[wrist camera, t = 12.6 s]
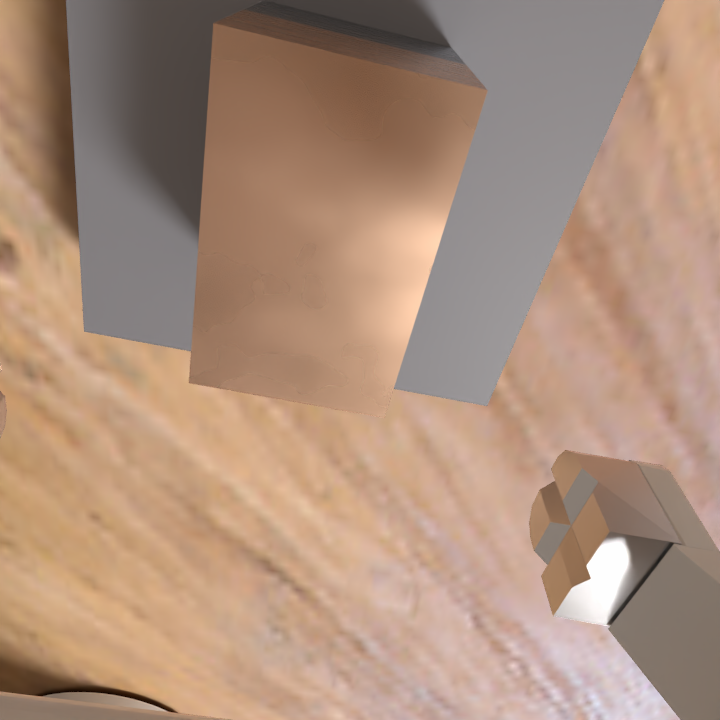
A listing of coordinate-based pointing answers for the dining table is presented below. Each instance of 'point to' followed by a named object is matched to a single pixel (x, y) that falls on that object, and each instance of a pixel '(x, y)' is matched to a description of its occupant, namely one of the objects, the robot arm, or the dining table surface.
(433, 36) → the stand
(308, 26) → the block
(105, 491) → the dining table surface
